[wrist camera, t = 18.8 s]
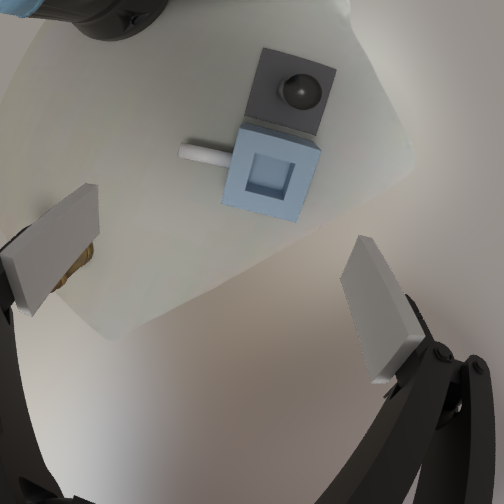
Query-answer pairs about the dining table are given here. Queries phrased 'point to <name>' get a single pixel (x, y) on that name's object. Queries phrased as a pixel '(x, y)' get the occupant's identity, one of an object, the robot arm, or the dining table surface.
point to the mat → (268, 102)
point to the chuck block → (263, 170)
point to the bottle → (300, 91)
